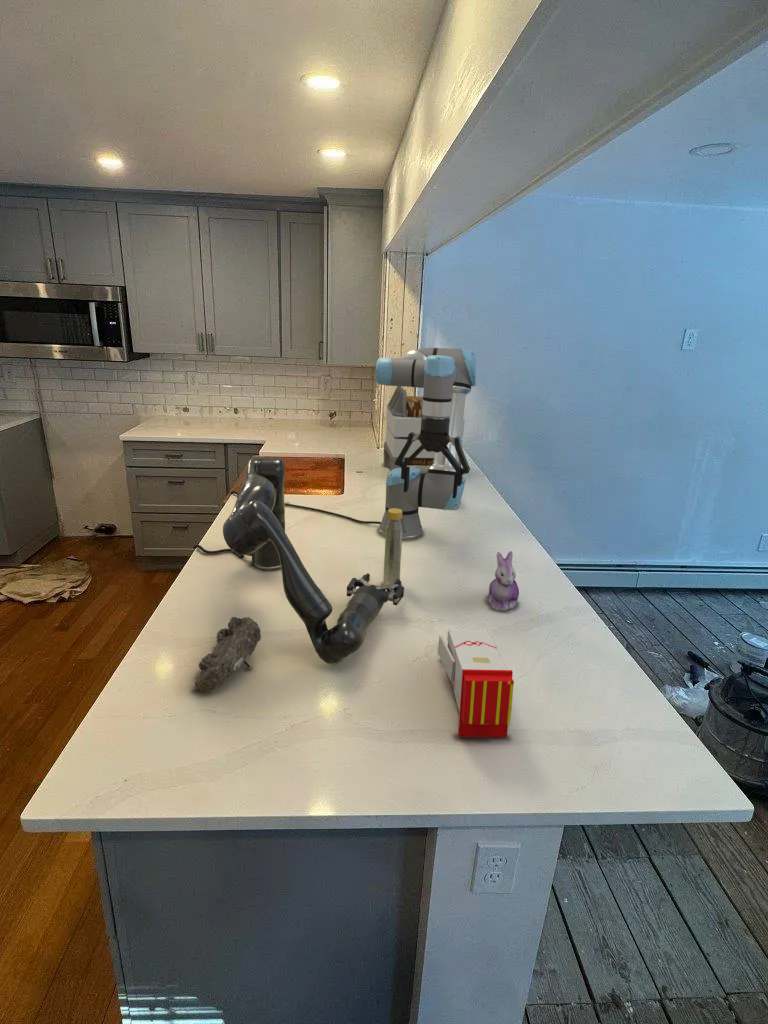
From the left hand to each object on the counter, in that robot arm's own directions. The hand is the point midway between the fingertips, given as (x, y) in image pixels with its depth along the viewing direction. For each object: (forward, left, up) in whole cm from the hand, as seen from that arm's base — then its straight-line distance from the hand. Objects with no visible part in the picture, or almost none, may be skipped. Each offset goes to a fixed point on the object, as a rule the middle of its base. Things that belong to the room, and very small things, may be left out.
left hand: (383, 579), depth 153 cm
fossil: (-22, -41, -6) cm, 47 cm away
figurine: (+32, +10, -6) cm, 34 cm away
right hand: (+8, +14, +21) cm, 27 cm away
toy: (+29, -32, -6) cm, 43 cm away
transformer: (-20, +127, -6) cm, 129 cm away
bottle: (0, +9, -6) cm, 10 cm away
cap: (0, +8, +16) cm, 19 cm away
